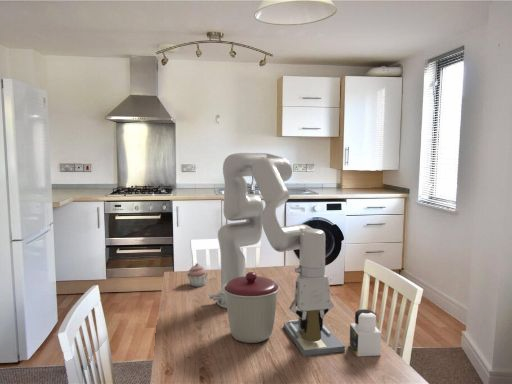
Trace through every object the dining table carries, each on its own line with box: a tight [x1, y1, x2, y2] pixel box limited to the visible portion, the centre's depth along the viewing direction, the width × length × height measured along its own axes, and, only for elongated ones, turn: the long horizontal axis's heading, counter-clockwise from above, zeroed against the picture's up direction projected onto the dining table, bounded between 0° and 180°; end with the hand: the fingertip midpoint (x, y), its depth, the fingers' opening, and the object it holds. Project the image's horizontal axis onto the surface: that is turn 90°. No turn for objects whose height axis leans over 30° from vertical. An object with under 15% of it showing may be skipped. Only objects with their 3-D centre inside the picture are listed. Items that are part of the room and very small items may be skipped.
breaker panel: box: [283, 319, 346, 357], centre depth 129 cm, size 13×20×2 cm, turn 13°
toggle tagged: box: [297, 316, 302, 335], centre depth 128 cm, size 3×4×5 cm
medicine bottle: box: [349, 308, 382, 358], centre depth 120 cm, size 7×7×12 cm
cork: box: [301, 310, 321, 342], centre depth 121 cm, size 6×6×11 cm
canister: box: [223, 271, 280, 344], centre depth 129 cm, size 18×18×21 cm
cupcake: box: [186, 262, 208, 288], centre depth 179 cm, size 9×9×10 cm
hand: (311, 329), depth 122 cm, fingers closed on cork, 3 cm apart
